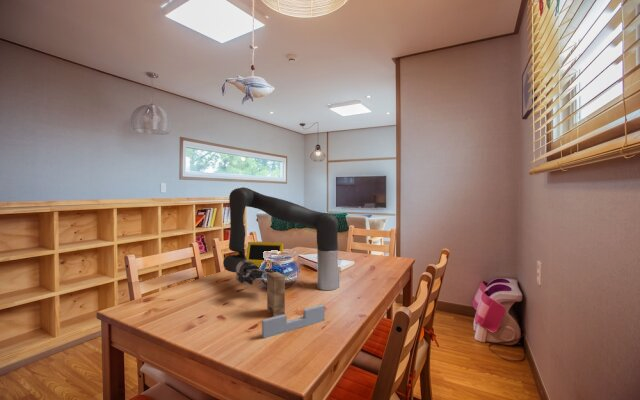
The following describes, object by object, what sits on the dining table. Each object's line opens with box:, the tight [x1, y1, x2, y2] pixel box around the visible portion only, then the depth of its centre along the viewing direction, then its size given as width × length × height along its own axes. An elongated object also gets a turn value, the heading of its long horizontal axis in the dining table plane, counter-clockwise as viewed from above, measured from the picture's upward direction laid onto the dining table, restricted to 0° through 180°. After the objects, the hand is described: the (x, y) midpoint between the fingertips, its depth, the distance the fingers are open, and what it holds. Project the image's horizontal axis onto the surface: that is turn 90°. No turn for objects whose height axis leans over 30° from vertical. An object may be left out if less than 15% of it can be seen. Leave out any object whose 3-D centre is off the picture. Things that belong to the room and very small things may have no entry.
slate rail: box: [261, 304, 326, 339], centre depth 97 cm, size 22×2×5 cm, turn 124°
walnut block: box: [266, 271, 286, 317], centre depth 108 cm, size 4×6×14 cm, turn 34°
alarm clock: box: [245, 241, 284, 268], centre depth 165 cm, size 20×8×16 cm, turn 80°
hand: (262, 280), depth 117 cm, fingers open, 8 cm apart
